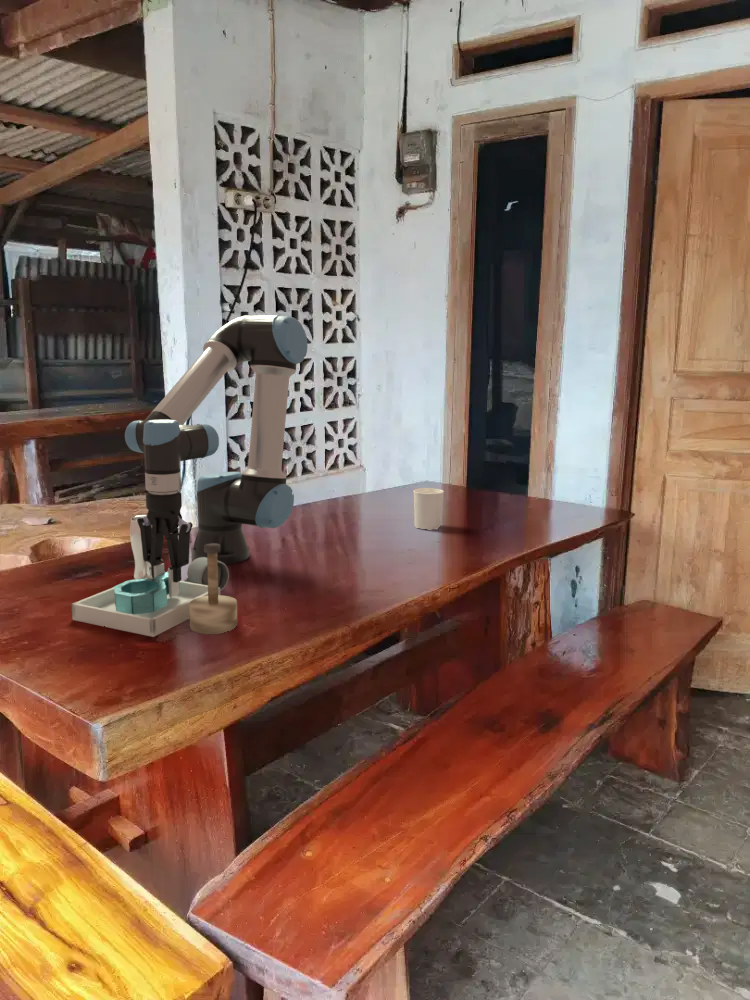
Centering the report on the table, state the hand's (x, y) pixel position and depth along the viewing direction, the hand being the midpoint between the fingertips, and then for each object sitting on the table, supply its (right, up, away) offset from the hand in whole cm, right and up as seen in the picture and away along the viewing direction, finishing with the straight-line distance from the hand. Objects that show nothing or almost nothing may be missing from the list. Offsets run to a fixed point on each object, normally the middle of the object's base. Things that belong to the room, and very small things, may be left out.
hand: (167, 593), depth 172 cm
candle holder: (+64, +12, +76) cm, 100 cm away
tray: (-2, -3, -5) cm, 6 cm away
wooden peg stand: (+13, -5, -13) cm, 19 cm away
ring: (-2, -1, -5) cm, 5 cm away
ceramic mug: (+6, -1, +9) cm, 11 cm away
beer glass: (-10, +2, +18) cm, 21 cm away
